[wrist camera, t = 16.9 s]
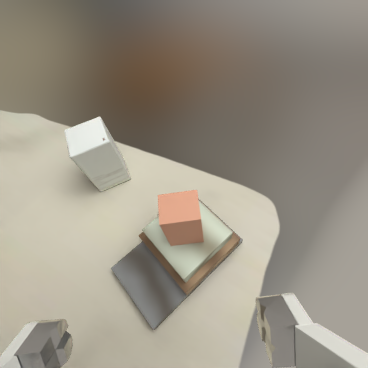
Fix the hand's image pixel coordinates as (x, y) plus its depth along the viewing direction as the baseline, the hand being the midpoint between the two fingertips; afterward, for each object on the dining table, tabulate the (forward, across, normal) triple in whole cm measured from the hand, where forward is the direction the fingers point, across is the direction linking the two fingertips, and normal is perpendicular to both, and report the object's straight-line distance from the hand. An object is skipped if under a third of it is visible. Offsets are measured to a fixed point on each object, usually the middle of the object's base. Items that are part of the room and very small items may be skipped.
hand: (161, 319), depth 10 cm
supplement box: (+44, +15, +1) cm, 47 cm away
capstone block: (+26, 0, +8) cm, 27 cm away
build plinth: (+30, +2, +15) cm, 33 cm away
